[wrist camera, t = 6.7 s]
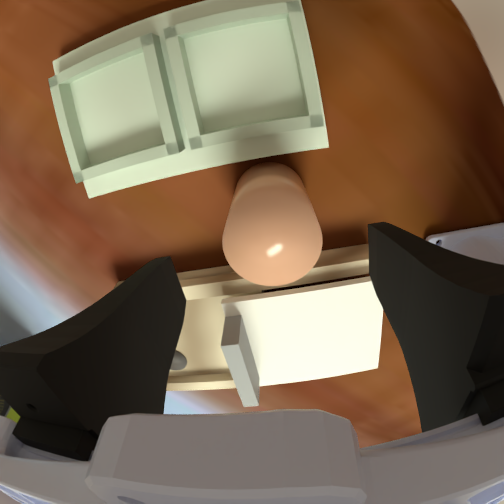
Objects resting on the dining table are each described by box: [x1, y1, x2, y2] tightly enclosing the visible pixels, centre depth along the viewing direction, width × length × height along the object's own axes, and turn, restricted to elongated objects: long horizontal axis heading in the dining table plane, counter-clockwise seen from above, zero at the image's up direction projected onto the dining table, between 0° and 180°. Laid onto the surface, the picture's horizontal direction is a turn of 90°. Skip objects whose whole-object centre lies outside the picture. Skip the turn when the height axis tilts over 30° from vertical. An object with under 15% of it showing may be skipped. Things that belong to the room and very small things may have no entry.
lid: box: [221, 276, 383, 407], centre depth 19 cm, size 10×8×3 cm
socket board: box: [48, 0, 329, 198], centre depth 14 cm, size 14×9×2 cm, turn 101°
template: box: [114, 244, 369, 391], centre depth 22 cm, size 17×10×2 cm, turn 101°
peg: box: [222, 162, 323, 286], centre depth 15 cm, size 4×4×6 cm
